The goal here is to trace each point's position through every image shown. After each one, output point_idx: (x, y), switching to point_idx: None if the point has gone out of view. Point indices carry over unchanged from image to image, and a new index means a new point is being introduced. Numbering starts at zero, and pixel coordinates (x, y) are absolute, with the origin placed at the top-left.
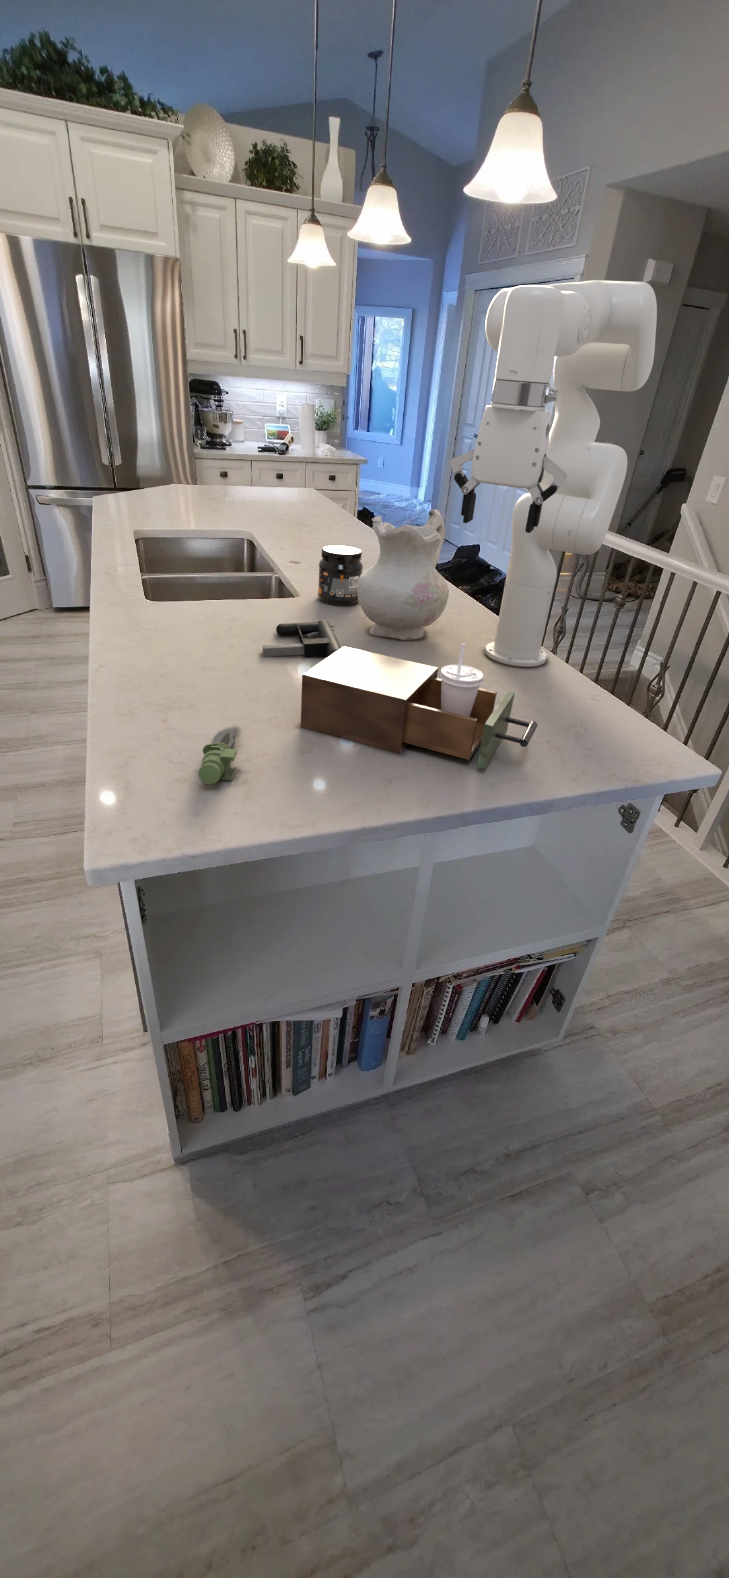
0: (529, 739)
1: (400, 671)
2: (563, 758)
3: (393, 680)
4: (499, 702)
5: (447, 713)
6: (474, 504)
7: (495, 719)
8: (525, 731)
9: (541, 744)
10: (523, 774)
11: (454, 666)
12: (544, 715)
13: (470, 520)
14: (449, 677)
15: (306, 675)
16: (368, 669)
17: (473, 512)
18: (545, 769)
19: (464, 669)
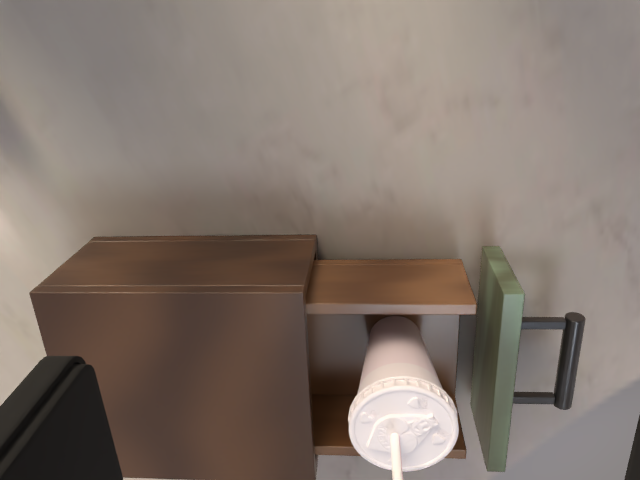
0: (573, 392)
1: (234, 365)
2: (633, 265)
3: (247, 417)
4: (496, 365)
5: None
6: (17, 477)
7: (504, 445)
8: (561, 367)
9: (581, 228)
10: (554, 362)
11: (372, 405)
12: (577, 57)
13: (106, 425)
14: (384, 468)
15: None
16: (169, 392)
17: (60, 410)
18: (596, 326)
19: (403, 418)
